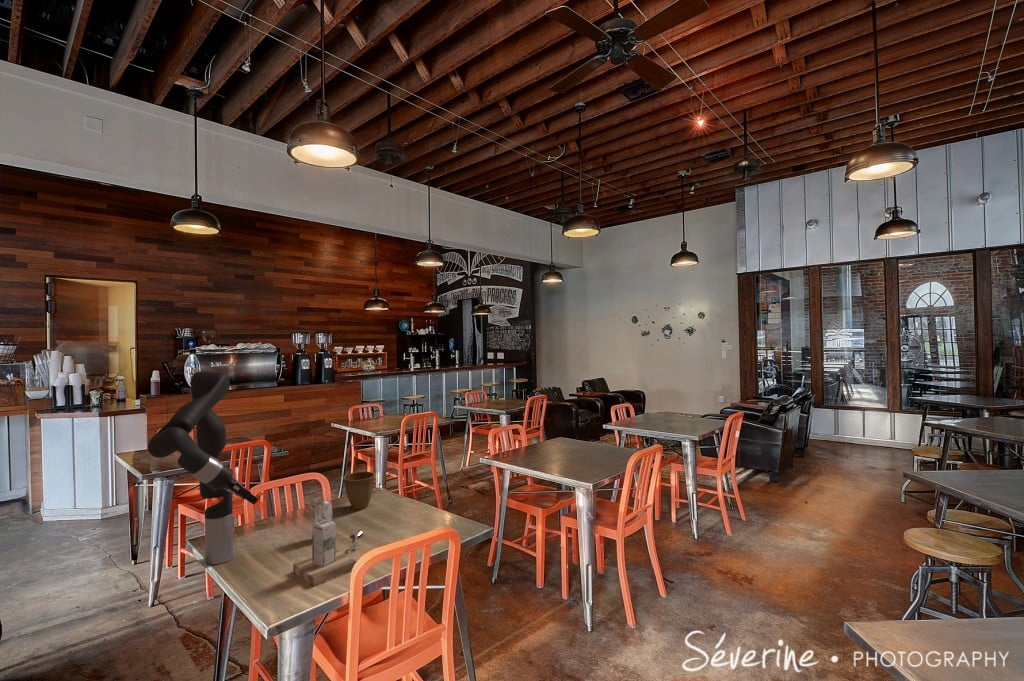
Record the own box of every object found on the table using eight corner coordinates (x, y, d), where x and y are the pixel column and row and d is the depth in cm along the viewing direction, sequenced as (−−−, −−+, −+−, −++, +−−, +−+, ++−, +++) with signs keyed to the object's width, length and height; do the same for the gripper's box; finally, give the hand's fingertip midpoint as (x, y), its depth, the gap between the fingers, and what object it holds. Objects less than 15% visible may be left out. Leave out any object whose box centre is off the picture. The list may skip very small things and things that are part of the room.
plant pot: (355, 501, 251) (354, 470, 251) (380, 503, 247) (380, 472, 247) (337, 511, 236) (337, 478, 236) (364, 514, 232) (363, 480, 232)
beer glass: (327, 542, 201) (326, 506, 200) (311, 541, 202) (311, 505, 202) (335, 535, 207) (335, 500, 207) (321, 534, 209) (320, 499, 209)
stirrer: (356, 543, 190) (344, 544, 190) (356, 552, 190) (344, 553, 189) (365, 526, 210) (353, 527, 209) (365, 535, 210) (354, 536, 209)
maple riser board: (293, 571, 175) (293, 563, 175) (334, 556, 187) (334, 548, 187) (314, 586, 164) (314, 577, 164) (356, 569, 176) (356, 561, 176)
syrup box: (324, 557, 179) (324, 518, 179) (336, 561, 177) (335, 521, 176) (312, 564, 174) (311, 524, 174) (323, 567, 171) (323, 526, 171)
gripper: (229, 466, 151) (267, 493, 160) (213, 459, 160) (251, 485, 169) (210, 487, 147) (251, 514, 156) (195, 478, 157) (234, 504, 165)
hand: (251, 499), depth 162 cm, fingers open, 8 cm apart
